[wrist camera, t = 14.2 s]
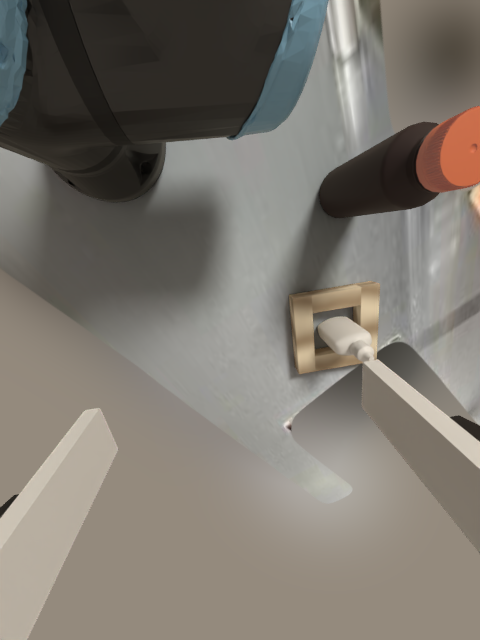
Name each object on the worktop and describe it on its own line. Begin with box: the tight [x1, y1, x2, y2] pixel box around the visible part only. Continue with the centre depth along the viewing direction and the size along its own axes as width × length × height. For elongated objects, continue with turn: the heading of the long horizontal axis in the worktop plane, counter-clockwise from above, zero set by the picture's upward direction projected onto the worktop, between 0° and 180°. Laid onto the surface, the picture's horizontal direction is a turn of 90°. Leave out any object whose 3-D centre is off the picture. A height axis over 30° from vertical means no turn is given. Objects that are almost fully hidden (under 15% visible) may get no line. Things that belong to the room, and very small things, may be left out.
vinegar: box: [319, 106, 480, 218], centre depth 26 cm, size 7×7×20 cm
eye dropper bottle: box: [318, 316, 374, 362], centre depth 37 cm, size 4×6×12 cm
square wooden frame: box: [289, 281, 380, 374], centre depth 42 cm, size 14×14×2 cm
